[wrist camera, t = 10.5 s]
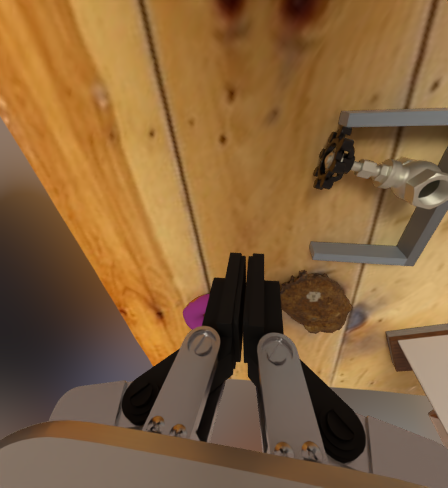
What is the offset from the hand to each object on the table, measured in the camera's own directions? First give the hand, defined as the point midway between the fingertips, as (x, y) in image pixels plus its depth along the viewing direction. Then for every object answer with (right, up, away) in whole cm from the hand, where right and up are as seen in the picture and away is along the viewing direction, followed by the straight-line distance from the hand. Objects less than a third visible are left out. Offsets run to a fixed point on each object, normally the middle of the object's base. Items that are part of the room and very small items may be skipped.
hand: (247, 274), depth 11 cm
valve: (+16, +11, +15) cm, 25 cm away
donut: (-4, -12, +36) cm, 38 cm away
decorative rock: (+16, -8, +30) cm, 34 cm away
